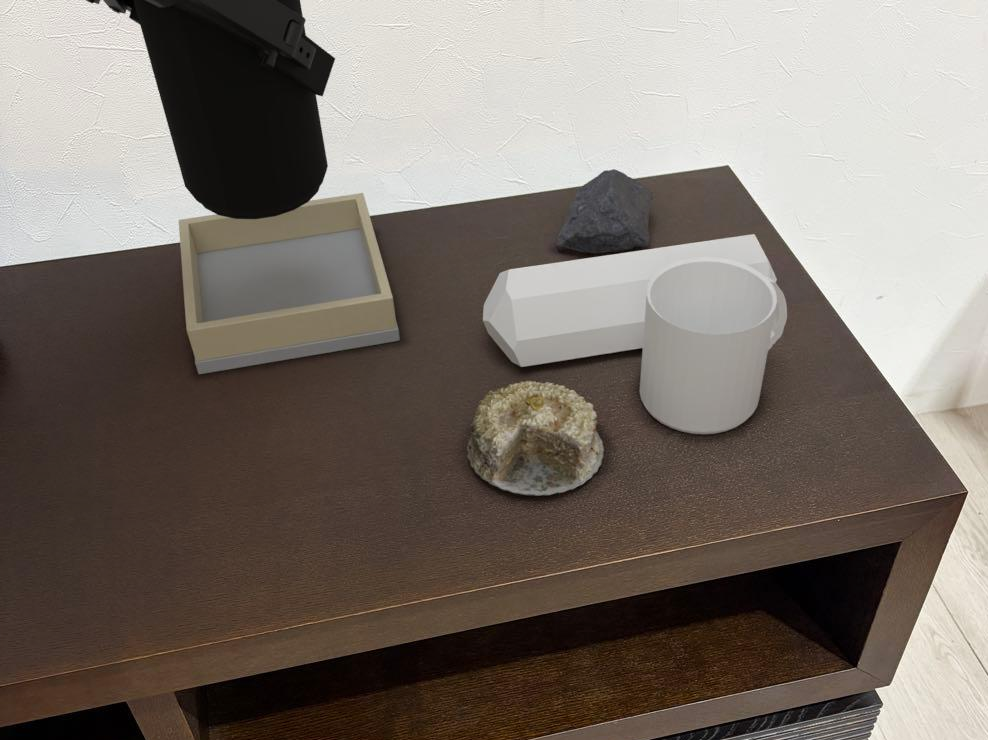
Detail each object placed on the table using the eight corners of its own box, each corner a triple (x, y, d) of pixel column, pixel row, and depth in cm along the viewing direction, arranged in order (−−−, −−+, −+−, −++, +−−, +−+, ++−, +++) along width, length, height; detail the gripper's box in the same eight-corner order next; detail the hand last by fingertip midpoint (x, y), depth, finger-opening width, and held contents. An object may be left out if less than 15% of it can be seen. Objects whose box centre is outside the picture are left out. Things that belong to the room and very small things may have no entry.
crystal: (496, 353, 81) (801, 306, 84) (478, 264, 82) (779, 221, 86) (490, 388, 88) (771, 343, 92) (473, 305, 90) (751, 264, 93)
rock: (576, 282, 95) (680, 241, 96) (566, 226, 91) (675, 185, 92) (537, 228, 101) (636, 191, 102) (526, 174, 97) (630, 136, 98)
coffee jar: (349, 157, 86) (311, -96, 72) (301, 232, 79) (249, -32, 65) (221, 144, 87) (161, -106, 74) (164, 216, 80) (85, -45, 67)
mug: (672, 449, 80) (683, 347, 73) (619, 375, 85) (625, 274, 78) (814, 406, 83) (838, 304, 76) (754, 337, 88) (771, 237, 81)
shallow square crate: (198, 374, 86) (185, 331, 83) (189, 261, 96) (177, 219, 93) (400, 340, 89) (394, 297, 85) (370, 233, 99) (364, 191, 96)
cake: (455, 424, 83) (450, 365, 79) (583, 404, 84) (584, 345, 80) (481, 510, 76) (477, 449, 72) (621, 486, 77) (623, 425, 73)
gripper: (-151, -86, 62) (127, 72, 83) (149, -3, 54) (375, 149, 75) (-115, -220, 61) (158, -26, 82) (196, -156, 53) (412, 41, 74)
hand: (261, 58), depth 78 cm, fingers closed on coffee jar, 11 cm apart
